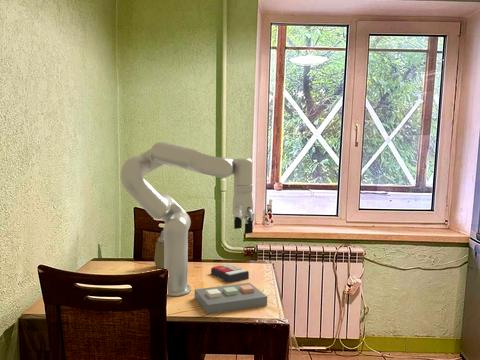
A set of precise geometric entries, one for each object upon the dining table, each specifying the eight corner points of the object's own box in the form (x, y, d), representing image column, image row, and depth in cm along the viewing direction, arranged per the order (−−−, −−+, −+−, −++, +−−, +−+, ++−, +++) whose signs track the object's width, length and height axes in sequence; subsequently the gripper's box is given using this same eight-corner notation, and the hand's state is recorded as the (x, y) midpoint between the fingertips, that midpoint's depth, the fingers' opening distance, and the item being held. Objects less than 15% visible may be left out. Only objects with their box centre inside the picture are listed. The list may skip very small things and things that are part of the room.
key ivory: (209, 300, 154) (210, 294, 154) (206, 296, 158) (206, 290, 158) (220, 299, 156) (221, 292, 156) (216, 294, 160) (216, 288, 160)
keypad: (207, 314, 148) (208, 304, 148) (194, 298, 162) (194, 289, 162) (266, 305, 158) (267, 296, 157) (249, 290, 172) (249, 282, 172)
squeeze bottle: (156, 264, 204) (156, 228, 202) (172, 265, 203) (172, 229, 202) (152, 269, 196) (152, 232, 194) (169, 270, 195) (169, 233, 194)
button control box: (229, 263, 199) (249, 269, 187) (229, 271, 199) (249, 279, 187) (210, 266, 192) (229, 273, 180) (210, 275, 192) (229, 283, 181)
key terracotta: (243, 295, 160) (244, 289, 159) (239, 291, 164) (239, 285, 163) (254, 294, 162) (254, 288, 161) (249, 290, 166) (249, 284, 165)
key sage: (227, 298, 157) (227, 291, 157) (223, 294, 161) (223, 287, 161) (237, 296, 159) (237, 290, 158) (233, 292, 163) (233, 286, 162)
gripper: (225, 187, 171) (226, 227, 173) (244, 192, 156) (244, 236, 158) (241, 186, 175) (242, 225, 176) (261, 190, 159) (261, 234, 161)
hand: (243, 230), depth 167 cm, fingers open, 9 cm apart
